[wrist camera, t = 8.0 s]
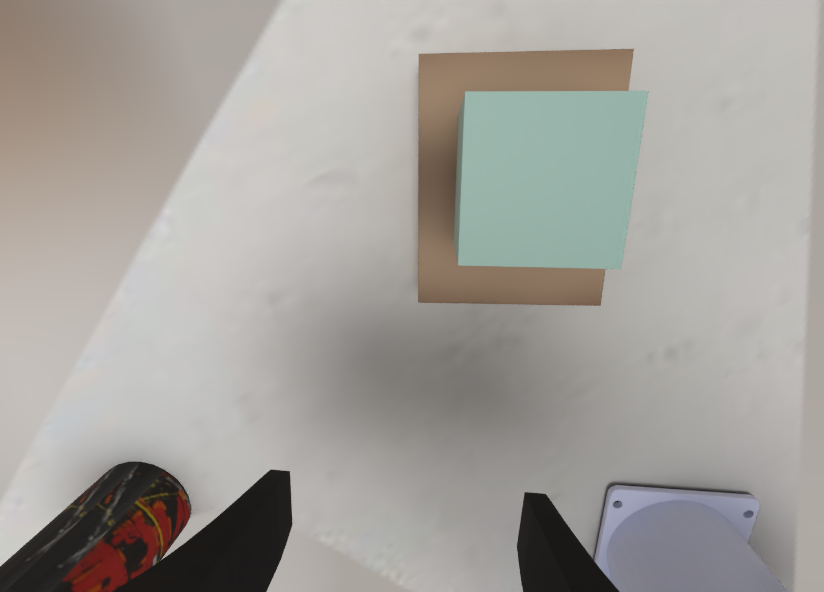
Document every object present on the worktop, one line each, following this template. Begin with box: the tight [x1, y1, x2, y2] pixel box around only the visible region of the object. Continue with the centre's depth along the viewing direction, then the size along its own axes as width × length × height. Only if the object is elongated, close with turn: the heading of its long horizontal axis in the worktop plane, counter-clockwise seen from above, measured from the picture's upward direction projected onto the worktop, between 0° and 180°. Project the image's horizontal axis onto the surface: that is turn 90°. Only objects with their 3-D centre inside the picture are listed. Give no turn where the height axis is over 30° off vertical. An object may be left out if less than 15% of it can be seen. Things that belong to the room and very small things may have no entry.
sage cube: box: [454, 91, 648, 269], centre depth 15 cm, size 5×5×5 cm
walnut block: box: [418, 49, 634, 306], centre depth 19 cm, size 10×8×3 cm
